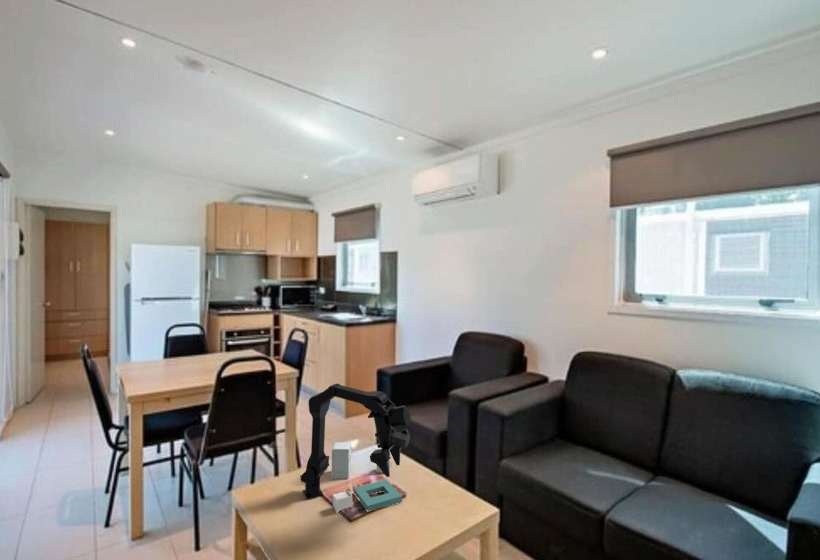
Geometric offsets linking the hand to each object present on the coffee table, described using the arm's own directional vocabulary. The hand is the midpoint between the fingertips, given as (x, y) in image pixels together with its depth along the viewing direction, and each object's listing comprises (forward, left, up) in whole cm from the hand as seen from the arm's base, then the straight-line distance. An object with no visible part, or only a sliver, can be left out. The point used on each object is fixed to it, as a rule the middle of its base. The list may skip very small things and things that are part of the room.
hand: (393, 470), depth 151 cm
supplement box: (-35, -7, -16) cm, 39 cm away
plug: (-11, -15, -16) cm, 25 cm away
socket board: (-11, -1, -15) cm, 19 cm away
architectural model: (-29, +10, -16) cm, 35 cm away
